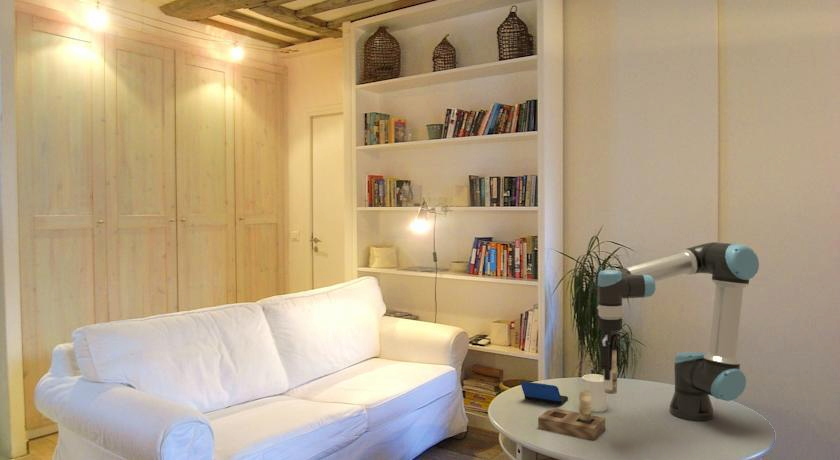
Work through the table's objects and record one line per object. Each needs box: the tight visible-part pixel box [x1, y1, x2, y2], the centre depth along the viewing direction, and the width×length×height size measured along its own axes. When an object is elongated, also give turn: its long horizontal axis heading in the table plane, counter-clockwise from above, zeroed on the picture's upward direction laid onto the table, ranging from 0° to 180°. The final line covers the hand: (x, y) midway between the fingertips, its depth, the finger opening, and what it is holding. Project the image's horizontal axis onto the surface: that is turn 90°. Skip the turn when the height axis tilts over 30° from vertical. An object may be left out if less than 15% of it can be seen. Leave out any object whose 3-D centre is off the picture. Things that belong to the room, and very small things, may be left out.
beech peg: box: [604, 350, 618, 395], centre depth 200 cm, size 4×4×14 cm
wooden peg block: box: [537, 389, 606, 441], centre depth 213 cm, size 20×12×14 cm, turn 55°
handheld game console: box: [520, 380, 569, 406], centre depth 243 cm, size 16×13×9 cm
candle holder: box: [581, 373, 609, 413], centre depth 233 cm, size 10×10×12 cm
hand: (610, 386), depth 200 cm, fingers closed on beech peg, 4 cm apart
